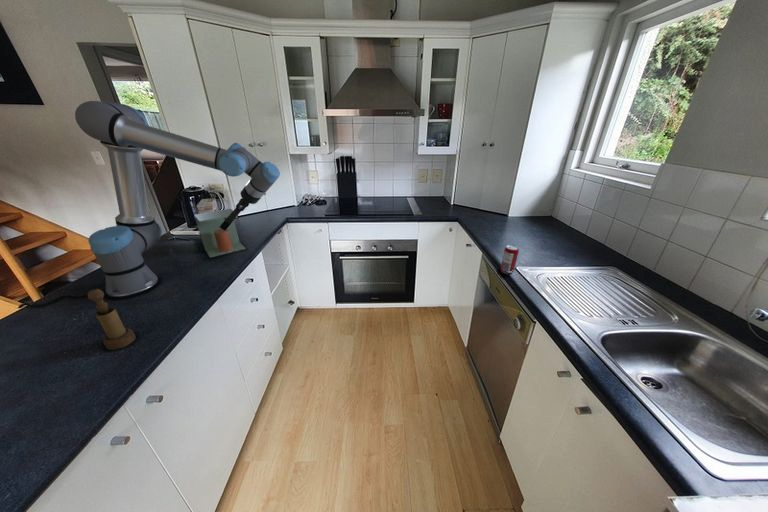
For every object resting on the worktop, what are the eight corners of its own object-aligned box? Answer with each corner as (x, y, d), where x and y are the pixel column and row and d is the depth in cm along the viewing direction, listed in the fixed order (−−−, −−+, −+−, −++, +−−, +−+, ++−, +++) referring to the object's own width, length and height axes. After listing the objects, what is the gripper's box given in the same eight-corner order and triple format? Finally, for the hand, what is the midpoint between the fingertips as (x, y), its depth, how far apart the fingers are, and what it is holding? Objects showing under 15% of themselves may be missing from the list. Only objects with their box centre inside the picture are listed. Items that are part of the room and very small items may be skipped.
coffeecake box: (221, 239, 150) (211, 204, 142) (206, 240, 148) (195, 205, 139) (224, 230, 163) (215, 197, 154) (210, 231, 160) (201, 198, 152)
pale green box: (210, 258, 128) (199, 221, 120) (205, 250, 136) (194, 214, 128) (246, 249, 138) (237, 214, 130) (239, 242, 146) (230, 208, 138)
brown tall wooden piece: (141, 334, 83) (116, 283, 75) (124, 350, 77) (94, 297, 69) (119, 334, 83) (91, 284, 75) (99, 350, 77) (67, 297, 69)
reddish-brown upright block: (220, 253, 132) (215, 234, 128) (217, 249, 136) (211, 230, 132) (234, 249, 136) (229, 231, 131) (231, 245, 140) (226, 227, 136)
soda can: (512, 269, 122) (518, 244, 117) (514, 275, 117) (520, 250, 112) (499, 267, 123) (504, 243, 118) (500, 273, 118) (506, 248, 113)
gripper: (249, 212, 108) (224, 241, 117) (271, 184, 127) (248, 211, 137) (231, 200, 104) (207, 230, 114) (256, 173, 124) (234, 201, 133)
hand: (229, 220), depth 125 cm, fingers open, 13 cm apart
